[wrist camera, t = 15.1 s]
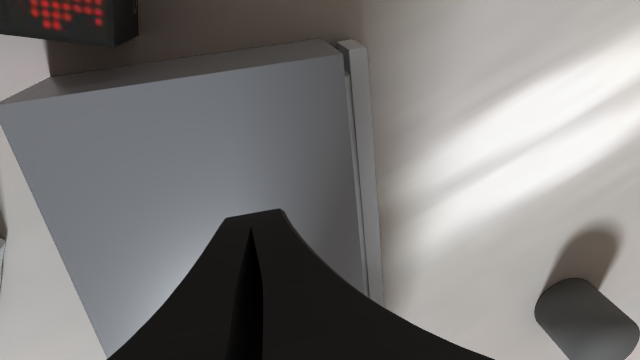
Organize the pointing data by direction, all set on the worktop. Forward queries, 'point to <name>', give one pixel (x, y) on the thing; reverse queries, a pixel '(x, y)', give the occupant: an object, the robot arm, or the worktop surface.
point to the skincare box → (1, 254)
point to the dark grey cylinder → (585, 322)
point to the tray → (363, 164)
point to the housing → (184, 167)
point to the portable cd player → (71, 20)
